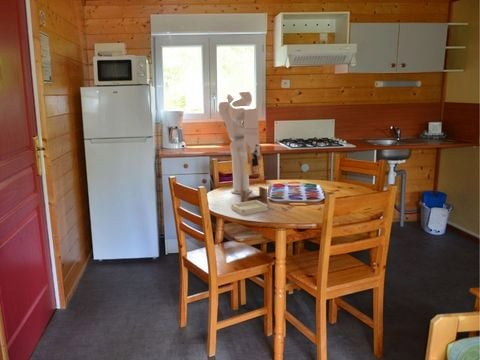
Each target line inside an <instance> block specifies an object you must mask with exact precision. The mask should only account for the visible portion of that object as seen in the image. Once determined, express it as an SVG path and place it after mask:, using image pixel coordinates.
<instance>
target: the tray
mask: <svg viewBox="0 0 480 360" xmlns="http://www.w3.org/2000/svg"><path fill="white" fill-rule="evenodd" d="M230 206H231V207H230V208H231V210H232V211H234V212H236V213H238V214H240V215H241V216H246V215H251V214H255V213H256V214H257V213H261V212H266V211H270V207H269V204H266V202H263V203H262V202H260V201H258V200H252V201H247V202H241V201H240V202H236V203H231V204H230Z"/></svg>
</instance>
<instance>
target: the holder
mask: <svg viewBox="0 0 480 360" xmlns="http://www.w3.org/2000/svg"><path fill="white" fill-rule="evenodd" d="M258 191H259V192H258V194H259V195H254V196H250V197H249V193H248V192H246V191H244V190H241V194H240V203H241V202H247V201H252V200H258V201H260V202H262V203H266V202H268V188H265V187H262V186H259V187H258Z"/></svg>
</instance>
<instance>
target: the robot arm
mask: <svg viewBox="0 0 480 360" xmlns="http://www.w3.org/2000/svg"><path fill="white" fill-rule="evenodd" d="M252 100H253V99H252V93H251V92H250V91H248V90H234V91H231V92H229V93H228V94H227V96H226V99H224V100H222V101H220V102H219V104H218V112H219V115H220V119H221V120H222V121H223V123H224V124H225V127H226V131H227V134H228V138H229V139H230V141H231V142H230V144H229V150H230V155H231V164H232V188H231V190H230V192H231V193H232V194H235V195H237V194H238V195H241V190H244V191H246V192H248V194H249V193H252V191H253V189H252V188H251V187H250V178H249V177H250V175H246V174H245V162H244V146H248V147H249V153H252V157H253V159H252V166H258V156H259V154H260V152H259V151H260V145H261V144H260V137H259V133H260V131H259V110H258V108H257V107H255V106H252V105H251V104H252ZM240 122H243V124H241V123H240ZM255 151H256V153H254V152H255ZM254 154H255V155H254Z"/></svg>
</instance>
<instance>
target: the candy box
mask: <svg viewBox="0 0 480 360" xmlns="http://www.w3.org/2000/svg"><path fill="white" fill-rule="evenodd" d="M259 152H260V154H259V156H258V166H252V159H253V157H252V153H249V147H248V146H244V162H245V174H246V175H249V176H252V175H258V174H263V161H262V159H263V157H262V155H263V154H262V145H261V144H260V151H259ZM254 153H256V151H255V152H254ZM254 155H255V154H254Z"/></svg>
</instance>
